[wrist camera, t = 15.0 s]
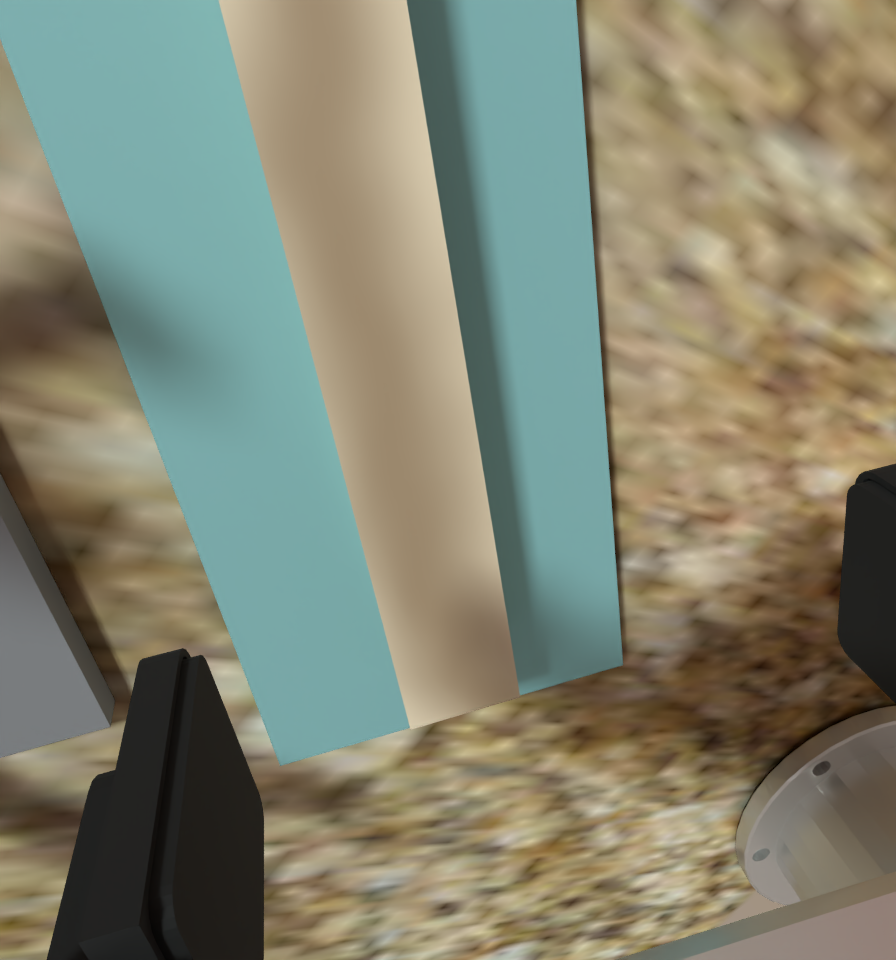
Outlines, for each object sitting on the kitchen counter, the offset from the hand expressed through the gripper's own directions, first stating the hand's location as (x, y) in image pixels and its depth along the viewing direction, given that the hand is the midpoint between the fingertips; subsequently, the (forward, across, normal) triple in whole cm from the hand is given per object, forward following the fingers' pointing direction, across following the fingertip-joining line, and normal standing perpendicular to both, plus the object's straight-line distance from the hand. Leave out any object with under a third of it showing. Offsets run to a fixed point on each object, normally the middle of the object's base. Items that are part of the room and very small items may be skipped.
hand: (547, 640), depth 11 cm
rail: (+13, +1, -1) cm, 13 cm away
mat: (+14, +1, -1) cm, 14 cm away
